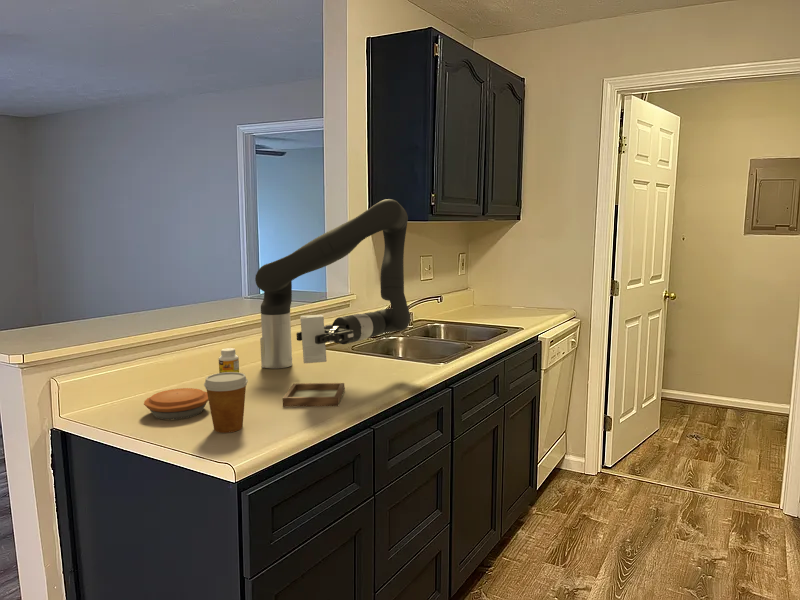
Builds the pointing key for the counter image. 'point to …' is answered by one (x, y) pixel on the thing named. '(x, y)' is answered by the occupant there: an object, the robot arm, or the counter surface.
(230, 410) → the disposable coffee cup
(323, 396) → the tray
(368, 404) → the counter surface
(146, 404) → the pie
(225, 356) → the supplement bottle
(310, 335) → the skincare box
